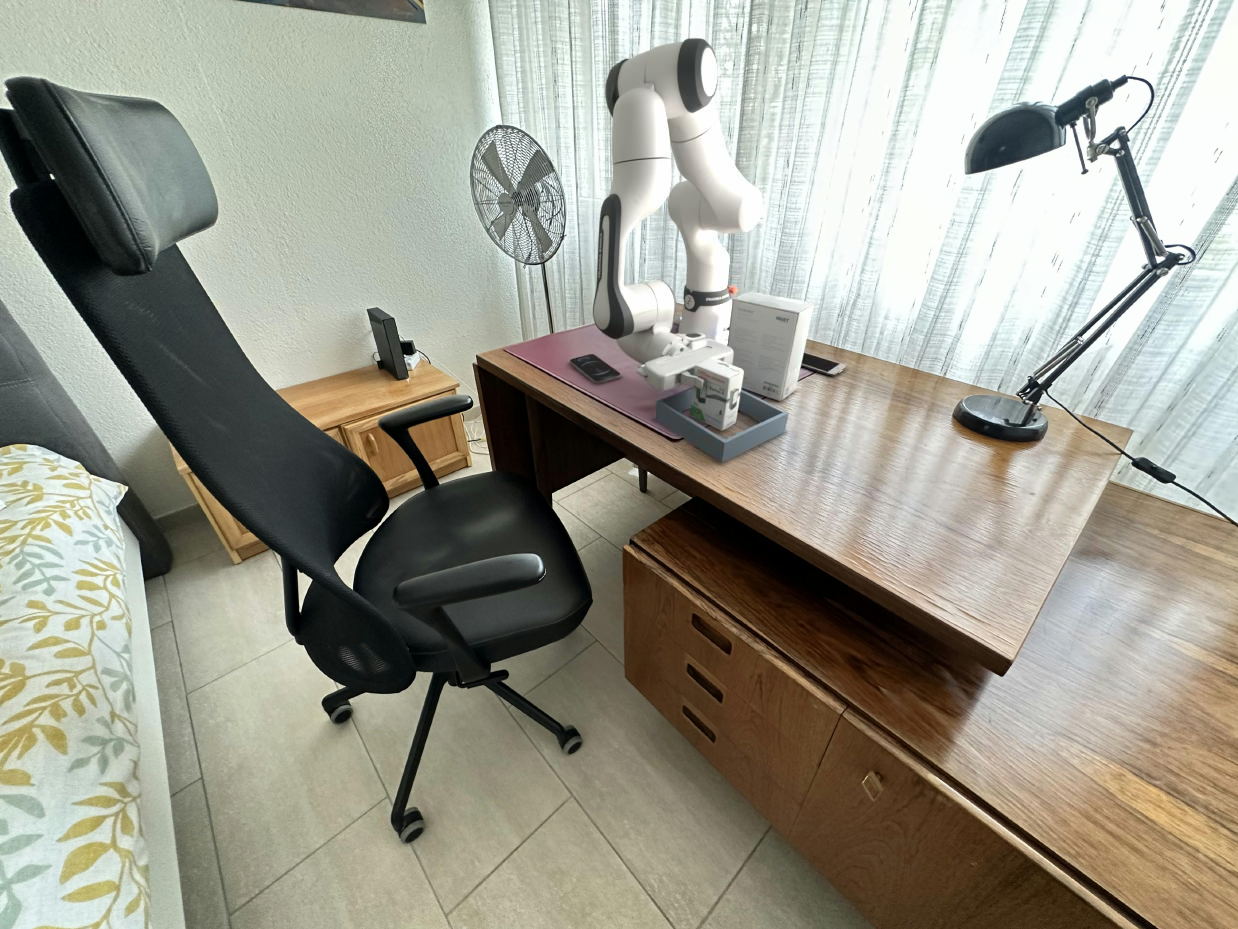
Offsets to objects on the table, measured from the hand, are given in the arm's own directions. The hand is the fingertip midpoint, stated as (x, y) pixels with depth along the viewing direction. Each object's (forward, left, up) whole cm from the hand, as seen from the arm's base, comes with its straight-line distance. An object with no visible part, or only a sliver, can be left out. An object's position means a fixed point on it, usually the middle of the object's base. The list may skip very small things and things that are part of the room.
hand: (716, 379), depth 92 cm
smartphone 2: (-41, -6, -10) cm, 42 cm away
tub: (-1, +1, -10) cm, 10 cm away
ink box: (0, 0, -9) cm, 9 cm away
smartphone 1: (+5, -37, -10) cm, 39 cm away
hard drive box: (-21, -6, -10) cm, 24 cm away
